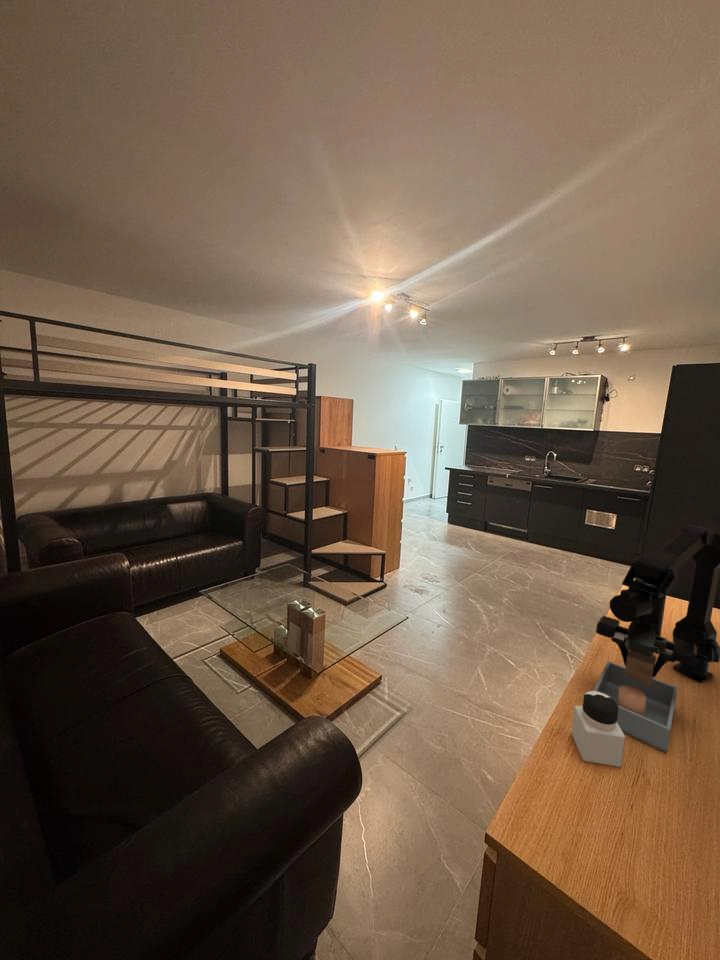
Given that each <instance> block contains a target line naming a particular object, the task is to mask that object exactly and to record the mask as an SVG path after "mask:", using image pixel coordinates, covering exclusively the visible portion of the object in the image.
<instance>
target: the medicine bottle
mask: <svg viewBox="0 0 720 960" xmlns="http://www.w3.org/2000/svg"><path fill="white" fill-rule="evenodd" d="M582 699H583V701H582V706H580V705H574V706H573V714H572V724H571V730H570V731H571V733H570V734H571V735H572V737H573V738H572V739H573V740H574V743H575V745H576V747H577V750H578V752H579V755H580V756H581V759H582V761H584V762H588V763H593V764H594V763H595V764H601V765H606V766H607V765H608V766H610V767H611V766H612V767H617V768H618V767H619V768H620V767H622V766H623V757H624V750H625V745H626V744H625V743H626V734H625V733H623V732H622V730H621V728H620V727H619V725H618V723H617V718H618V710H619V707H618V705H617V703H616V702H615V701H614V700H613V699H612V698H611V697H609V696H608V695H606V694H604V693H601V692H597V691H593V690H590V691H587V692H585V693H584V695H583V698H582Z"/></svg>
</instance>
